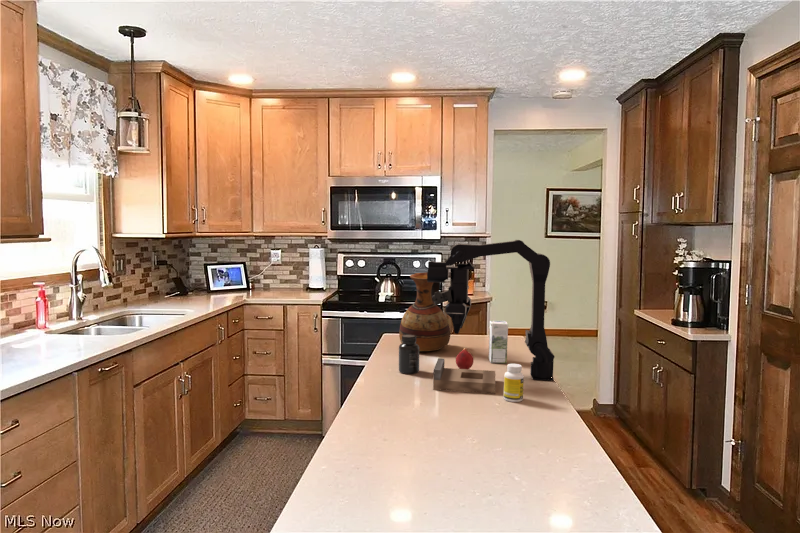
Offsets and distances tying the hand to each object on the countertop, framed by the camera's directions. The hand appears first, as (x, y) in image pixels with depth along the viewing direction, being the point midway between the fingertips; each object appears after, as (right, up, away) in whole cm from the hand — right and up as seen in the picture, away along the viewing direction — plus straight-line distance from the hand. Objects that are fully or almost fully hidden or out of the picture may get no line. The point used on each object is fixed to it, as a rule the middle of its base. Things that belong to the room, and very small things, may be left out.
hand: (458, 330), depth 181 cm
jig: (+1, -15, -11) cm, 19 cm away
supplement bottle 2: (+13, -17, -24) cm, 32 cm away
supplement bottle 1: (-16, -14, +3) cm, 22 cm away
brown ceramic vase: (-9, -11, +37) cm, 39 cm away
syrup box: (+16, -13, +18) cm, 28 cm away
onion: (+2, -14, +4) cm, 15 cm away
